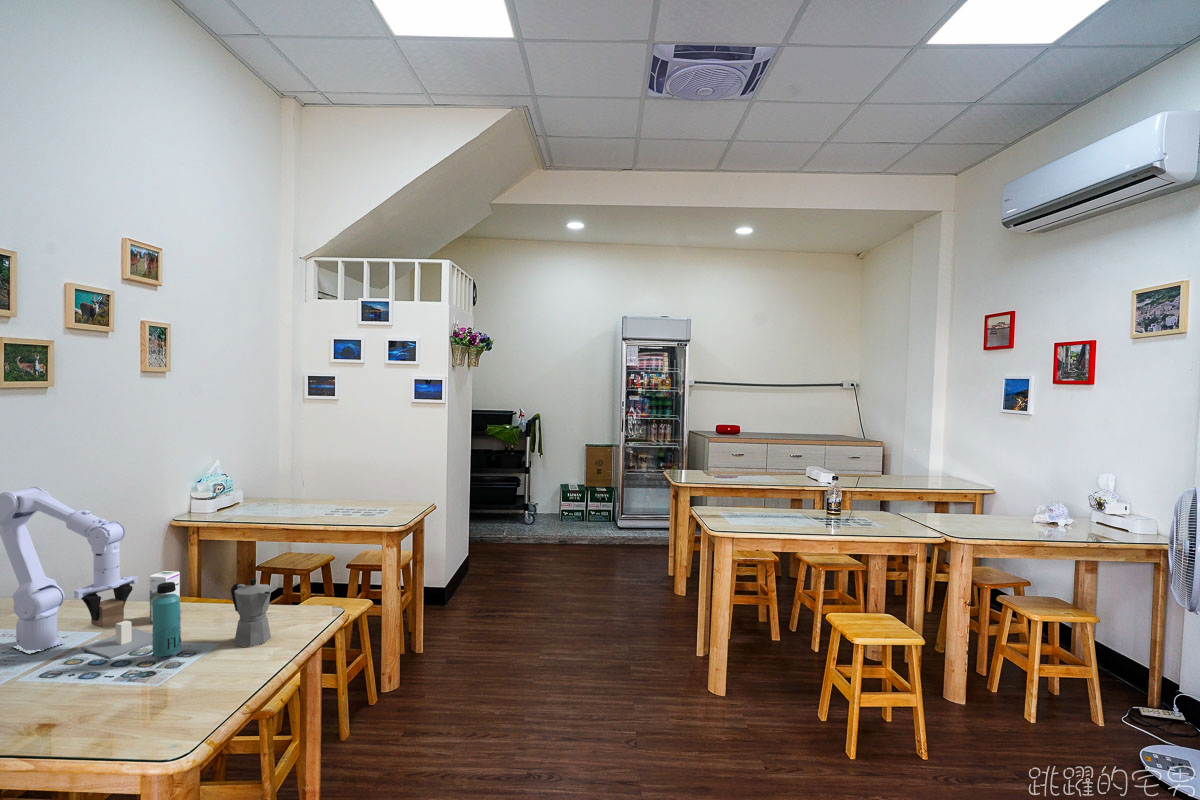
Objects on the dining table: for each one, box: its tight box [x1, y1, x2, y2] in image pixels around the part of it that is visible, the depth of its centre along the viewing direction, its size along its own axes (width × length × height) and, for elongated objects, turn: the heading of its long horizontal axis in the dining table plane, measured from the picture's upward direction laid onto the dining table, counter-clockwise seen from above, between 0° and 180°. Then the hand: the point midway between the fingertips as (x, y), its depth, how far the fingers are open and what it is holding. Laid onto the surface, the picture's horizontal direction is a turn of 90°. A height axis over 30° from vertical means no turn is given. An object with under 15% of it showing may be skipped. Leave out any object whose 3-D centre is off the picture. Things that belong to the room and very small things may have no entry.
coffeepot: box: [230, 578, 272, 647], centre depth 178 cm, size 15×9×18 cm, turn 67°
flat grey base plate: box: [79, 620, 153, 660], centre depth 174 cm, size 14×14×6 cm
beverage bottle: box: [151, 582, 182, 657], centre depth 166 cm, size 6×7×20 cm
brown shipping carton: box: [90, 597, 125, 628], centre depth 171 cm, size 5×5×6 cm
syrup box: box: [148, 570, 181, 623], centre depth 192 cm, size 6×6×14 cm
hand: (107, 616), depth 171 cm, fingers closed on brown shipping carton, 5 cm apart
